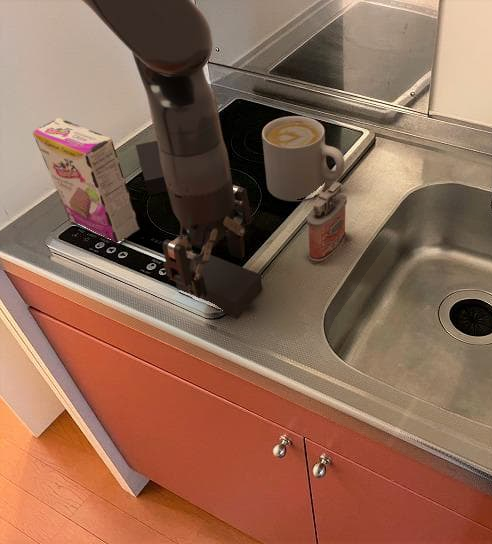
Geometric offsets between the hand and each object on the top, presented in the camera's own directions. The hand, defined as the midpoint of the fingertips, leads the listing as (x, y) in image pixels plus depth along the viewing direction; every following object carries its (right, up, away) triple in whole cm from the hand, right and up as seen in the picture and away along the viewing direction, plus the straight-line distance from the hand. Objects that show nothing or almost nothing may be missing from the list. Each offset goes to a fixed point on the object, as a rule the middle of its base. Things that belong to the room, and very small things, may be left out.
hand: (218, 274), depth 77 cm
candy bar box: (-20, +7, +13) cm, 25 cm away
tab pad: (-1, -2, +2) cm, 3 cm away
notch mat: (-11, +19, +24) cm, 32 cm away
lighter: (+15, +4, +8) cm, 17 cm away
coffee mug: (+11, +15, +20) cm, 27 cm away
